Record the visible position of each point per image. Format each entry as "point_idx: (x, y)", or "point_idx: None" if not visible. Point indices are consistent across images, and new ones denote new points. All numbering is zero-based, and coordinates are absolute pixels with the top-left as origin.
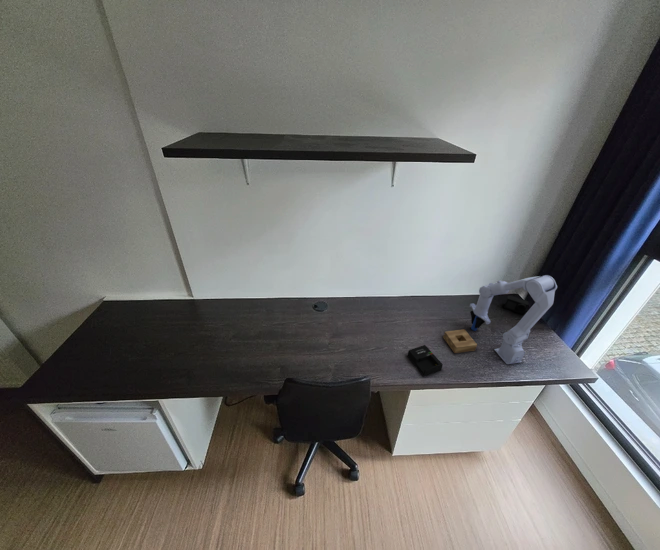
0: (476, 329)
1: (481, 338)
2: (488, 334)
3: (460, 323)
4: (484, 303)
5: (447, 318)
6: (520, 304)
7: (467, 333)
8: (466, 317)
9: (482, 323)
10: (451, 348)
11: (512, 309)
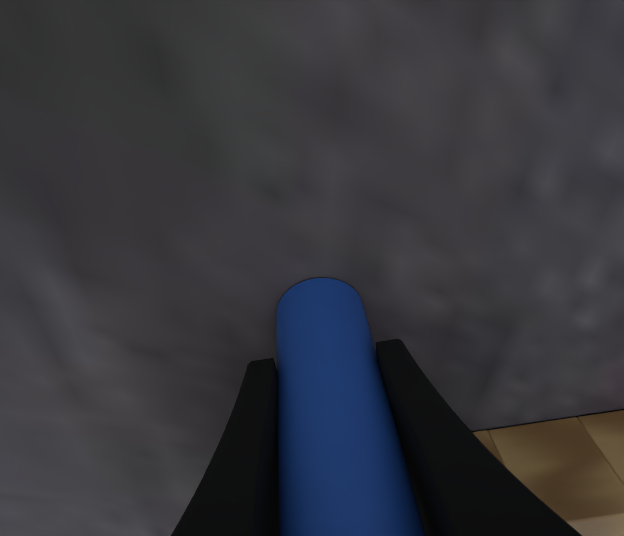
0: (363, 313)
1: (531, 281)
2: (490, 122)
3: (200, 417)
4: None
5: (125, 495)
6: None
7: None
8: (11, 319)
9: (490, 465)
10: None
11: None
